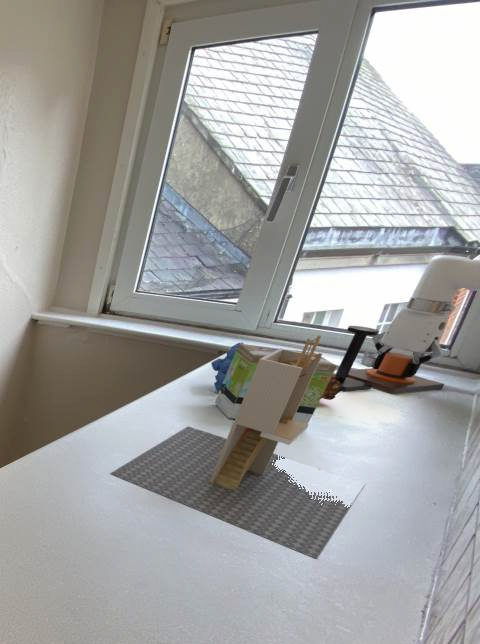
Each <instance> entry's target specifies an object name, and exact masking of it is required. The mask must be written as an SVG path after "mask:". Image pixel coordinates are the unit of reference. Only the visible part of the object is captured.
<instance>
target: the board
mask: <svg viewBox="0 0 480 644" xmlns="http://www.w3.org/2000/svg"><path fill="white" fill-rule="evenodd" d="M370 369H373V367H371V368H363V369H362V368H361V369H350V371H349V373H348V375H347V377H348V378H351V379H355V380H358V381H361V382H364V383H368V384H371V385H372V387H371V389H376V390H379V391H382V392H385V393H387V394H388V393H389V394H391V395H396V394H407V393H406V392H408V393H416V392H415V391H417V392H424V391H426V392H427V391H435V390H437V391H438V390H443V388H444V386H445V383H443V382H440V381H436V380H432V379H429V378H425V377H421V376H418V375H414V376H412V378H414V379H415V382H414V383H410V384H407V383H397V382H391V381H386V380H382V379H378V378H375V377H372V376H370V375H368V374H366V371H367V370H370Z"/></svg>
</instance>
